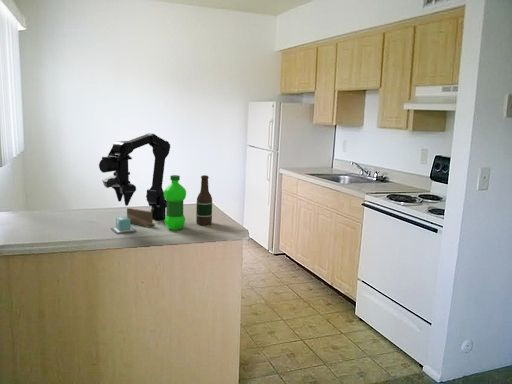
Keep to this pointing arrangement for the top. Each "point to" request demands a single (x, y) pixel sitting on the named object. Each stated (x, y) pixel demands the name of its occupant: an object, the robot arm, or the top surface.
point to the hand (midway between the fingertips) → (123, 203)
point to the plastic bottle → (174, 204)
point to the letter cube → (123, 224)
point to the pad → (123, 231)
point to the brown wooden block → (140, 217)
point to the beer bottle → (204, 204)
